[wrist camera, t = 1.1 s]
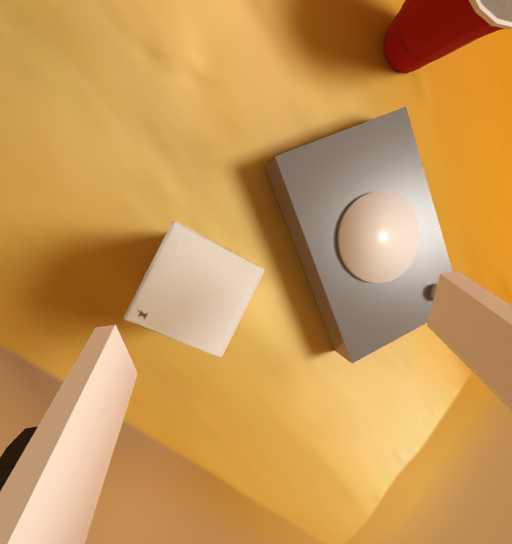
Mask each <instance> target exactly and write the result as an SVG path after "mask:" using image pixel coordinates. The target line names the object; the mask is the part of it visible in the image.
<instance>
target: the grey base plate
mask: <svg viewBox="0 0 512 544" xmlns="http://www.w3.org/2000/svg"><path fill="white" fill-rule="evenodd" d="M265 169H266V172H267V175H268V177H269V180H270V182H271V185H272V188H273V190H274V193H275V195H276V198H277V201H278V203H279V206H280V209H281V211H282V214H283V216H284V219H285V222H286V224H287V227H288V229H289V232H290V235H291V237H292V240H293V243H294V245H295V248H296V250H297V253H298V256H299V258H300V261H301V264H302V266H303V269H304V271H305V274H306V277H307V279H308V282H309V284H310V287H311V290H312V292H313V295H314V298H315V300H316V303H317V305H318V308H319V311H320V313H321V316H322V318H323V321H324V324H325V326H326V329H327V332H328V334H329V337H330V339H331V342H332V345H333V347H334V350H335V351H336V352H337V353H339V354H340V355H341V356H343V357H344V358H346V359H347V360H348V361H350V362H351V363H354V362H355V361H357V360H359V359H361V358H363V357H365V356H367V355H368V354H370V353H372V352H374V351H376V350H378V349H379V348H381V347H383V346H385V345H387V344H389V343H390V342H392V341H394V340H396V339H398V338H400V337H401V336H403V335H405V334H407V333H409V332H411V331H412V330H414V329H416V328H418V327H420V326H422V325H423V324H425V323H427V322H428V321H429V316H430V312H431V308H432V304H433V300H434V296H435V292H436V288H437V284H438V280H439V276H440V274H442V273H448V272H452V268H451V265H450V261H449V257H448V254H447V250H446V247H445V243H444V240H443V236H442V233H441V229H440V226H439V222H438V219H437V215H436V211H435V208H434V204H433V201H432V197H431V194H430V190H429V187H428V183H427V180H426V176H425V173H424V169H423V165H422V162H421V158H420V155H419V151H418V148H417V144H416V141H415V137H414V134H413V130H412V127H411V123H410V120H409V116H408V112H407V109H406V107H404V108H401V109H398V110H396V111H393V112H391V113H388V114H385V115H383V116H380V117H377V118H375V119H372V120H369V121H367V122H364V123H362V124H359V125H356V126H354V127H351V128H348V129H346V130H343V131H340V132H338V133H335V134H333V135H330V136H327V137H325V138H322V139H319V140H317V141H314V142H311V143H309V144H306V145H304V146H301V147H298V148H296V149H293V150H290V151H288V152H285V153H282V154H280V155H277V156H275V157H274V158H273V159H272V160H271V161H270V162H269V163H268V164H267V165H266V166H265Z"/></svg>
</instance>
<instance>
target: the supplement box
mask: <svg viewBox="0 0 512 544" xmlns="http://www.w3.org/2000/svg"><path fill="white" fill-rule="evenodd" d="M263 273H264V269H263V268H261V267H259V266H257V265H255V264H253V263H252V262H250V261H248V260H246V259H244V258H243V257H241V256H239V255H237V254H235V253H233V252H232V251H230V250H228V249H226V248H224V247H222V246H221V245H219V244H217V243H215V242H213V241H211V240H210V239H208V238H206V237H204V236H202V235H200V234H199V233H197V232H195V231H193V230H191V229H189V228H188V227H186V226H184V225H182V224H180V223H178V222H176V221H174V222H172V224H171V225H170V227H169V229H168V231H167V233H166V235H165V237H164V239H163V241H162V243H161V245H160V247H159V249H158V251H157V253H156V255H155V257H154V259H153V260H152V262H151V264H150V266H149V268H148V270H147V272H146V274H145V276H144V278H143V280H142V282H141V284H140V286H139V288H138V290H137V292H136V294H135V296H134V298H133V300H132V302H131V304H130V306H129V308H128V309H127V311H126V313H125V315H124V317H123V319H124V320H125V321H128V322H131V323H134V324H136V325H139V326H141V327H144V328H146V329H149V330H152V331H154V332H157V333H159V334H162V335H165V336H167V337H170V338H172V339H175V340H177V341H180V342H182V343H184V344H187V345H189V346H192V347H194V348H197V349H199V350H202V351H204V352H207V353H209V354H212V355H214V356H217V357H222V355H223V353H224V351H225V349H226V347H227V346H228V344H229V342H230V340H231V338H232V336H233V334H234V332H235V330H236V328H237V326H238V324H239V322H240V320H241V318H242V316H243V314H244V312H245V310H246V308H247V306H248V304H249V302H250V300H251V298H252V295H253V293H254V291H255V289H256V287H257V285H258V283H259V281H260V279H261V277H262V275H263Z"/></svg>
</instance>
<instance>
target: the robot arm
mask: <svg viewBox="0 0 512 544" xmlns="http://www.w3.org/2000/svg"><path fill="white" fill-rule="evenodd" d="M427 326H428V327H429V328H430V329H431V330H432V331H433V332H434V333H435V334H436V335H437V336H438V337H439V338H440V339H441V340H442V341H443V342H444V343H445V344H446V345H447V346H448V347H449V348H450V349H451V350H452V351H453V352H454V353H455V354H456V355H457V356H458V357H459V358H460V359H461V360H462V361H463V362H464V363H465V364H466V365H467V366H468V367H469V368H470V369H471V370H472V371H473V372H474V373H475V374H476V375H477V376H478V377H479V378H480V379H481V380H482V381H483V382H484V383H485V384H486V385H487V386H488V387H489V389H490V390H492V391H493V393H494V394H495V395H497V397H498V398H499V399H501V401H502V402H503V403H504V404H505V405H506V406H508V407H509V409H510V410H511V411H512V306H511V305H510V304H508V303H506V302H505V301H503V300H502V299H500V298H499V297H497V296H496V295H494V294H493V293H491V292H490V291H488V290H486V289H485V288H483V287H482V286H480V285H479V284H477V283H476V282H474V281H473V280H471V279H470V278H468V277H467V276H465V275H463V274H462V273H460V272H459V271H454V272H448V273H442V274H440V276H439V280H438V284H437V288H436V292H435V296H434V300H433V304H432V308H431V312H430V316H429V321H428V325H427ZM137 374H138V373H137V371H136V369H135V366H134V364H133V362H132V360H131V358H130V355H129V353H128V351H127V349H126V347H125V344H124V342H123V340H122V338H121V336H120V333H119V331H118V329H117V327H116V325H109V326H103V327H96V328H95V329H94V331H93V333H92V334H91V336H90V338H89V339H88V341H87V343H86V345H85V346H84V348H83V350H82V351H81V353H80V355H79V357H78V358H77V360H76V362H75V364H74V365H73V367H72V369H71V370H70V372H69V374H68V376H67V377H66V379H65V381H64V383H63V384H62V386H61V388H60V389H59V391H58V393H57V395H56V396H55V398H54V400H53V402H52V403H51V405H50V407H49V408H48V410H47V412H46V414H45V415H44V417H43V419H42V421H41V422H40V424H39V426H38V427H32V428H27V429H24V431H23V432H22V433H21V434H20V435H19V436H18V437H17V438H16V439H15V440H14V441H13V442H12V443H11V444H10V445H9V446H8V447H7V448H6V450H5V451H4V453H3V454H2V456H1V457H0V544H85V540H86V537H87V534H88V531H89V528H90V524H91V521H92V518H93V515H94V512H95V508H96V505H97V502H98V499H99V495H100V492H101V489H102V486H103V483H104V480H105V477H106V473H107V470H108V467H109V463H110V460H111V457H112V454H113V451H114V448H115V444H116V441H117V438H118V435H119V432H120V429H121V425H122V422H123V419H124V416H125V413H126V409H127V406H128V403H129V400H130V397H131V393H132V390H133V387H134V384H135V381H136V377H137Z"/></svg>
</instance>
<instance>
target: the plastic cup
mask: <svg viewBox="0 0 512 544" xmlns="http://www.w3.org/2000/svg"><path fill="white" fill-rule="evenodd" d="M511 28H512V0H406V1H405V2H404V4H403V6H402V8H401V10H400V11H399V13H398V14H397V16H396V17H395V19H394V20H393V22H392V23H391V25H390V26H389V29H388V31H387V33H386V36H385V39H384V53H385V56H386V59H387V61H388V62H389V64H390V65H391V66H392V68H394V69H395V70H397V71H399V72H403V73H409V72H411V71H414V70H417V69H419V68H421V67H423V66H425V65H427V64H428V63H430V62H432V61H435V60H437V59H439V58H441V57H443V56H445V55H447V54H449V53H451V52H453V51H455V50H457V49H459V48H461V47H463V46H465V45H466V44H468V43H470V42H472V41H474V40H476V39H478V38H480V37H482V36H485V35H487V34H489V33H492V32H495V31H497V30H501V29H511Z"/></svg>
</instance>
